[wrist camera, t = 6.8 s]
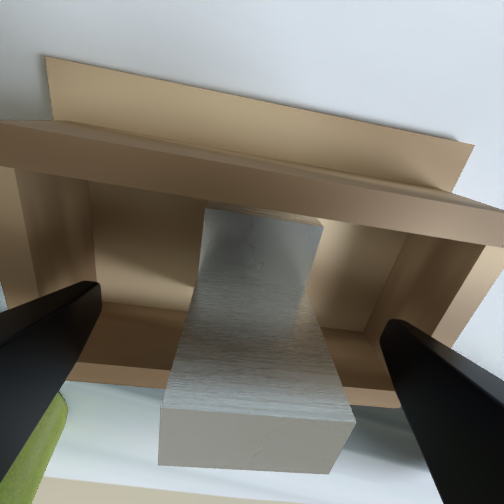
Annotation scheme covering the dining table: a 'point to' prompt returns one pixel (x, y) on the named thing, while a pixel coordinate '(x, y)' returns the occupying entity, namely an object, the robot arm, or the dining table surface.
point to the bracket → (254, 353)
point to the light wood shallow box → (240, 193)
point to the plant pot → (34, 456)
